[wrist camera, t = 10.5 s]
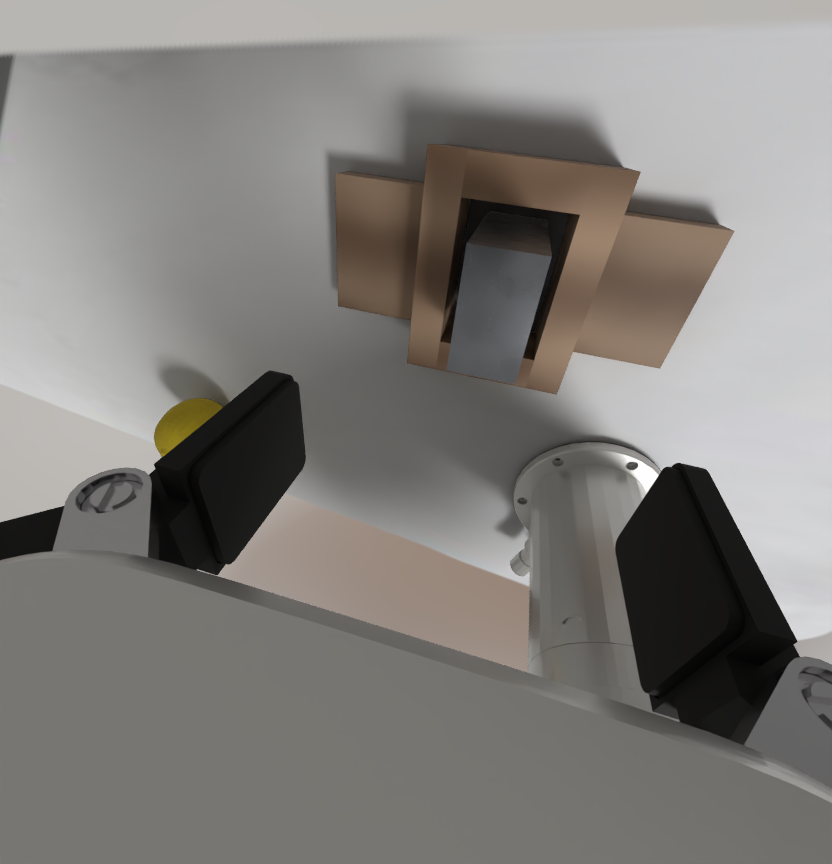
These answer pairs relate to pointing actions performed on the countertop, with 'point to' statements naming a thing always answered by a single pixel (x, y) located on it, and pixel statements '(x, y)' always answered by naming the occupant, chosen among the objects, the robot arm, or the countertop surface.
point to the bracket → (499, 295)
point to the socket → (573, 273)
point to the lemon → (183, 422)
